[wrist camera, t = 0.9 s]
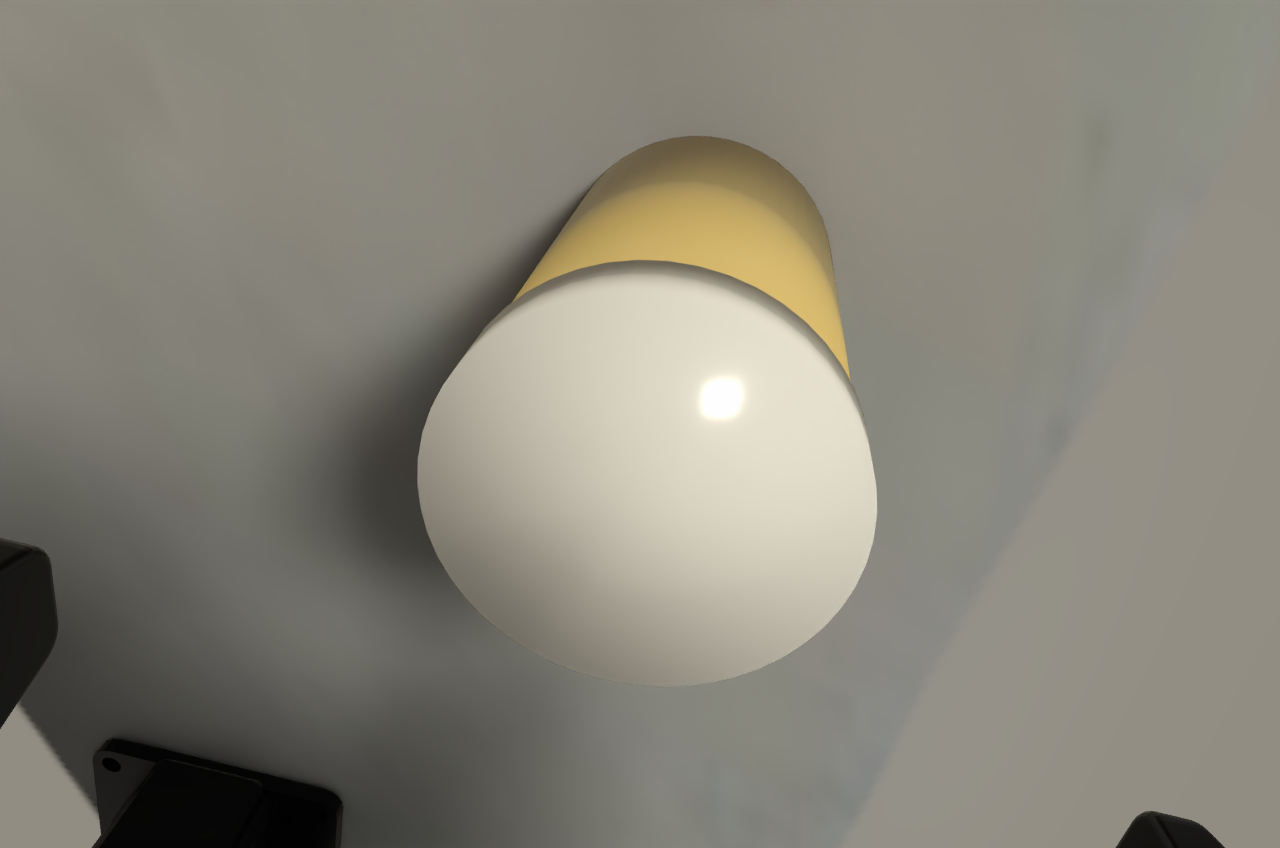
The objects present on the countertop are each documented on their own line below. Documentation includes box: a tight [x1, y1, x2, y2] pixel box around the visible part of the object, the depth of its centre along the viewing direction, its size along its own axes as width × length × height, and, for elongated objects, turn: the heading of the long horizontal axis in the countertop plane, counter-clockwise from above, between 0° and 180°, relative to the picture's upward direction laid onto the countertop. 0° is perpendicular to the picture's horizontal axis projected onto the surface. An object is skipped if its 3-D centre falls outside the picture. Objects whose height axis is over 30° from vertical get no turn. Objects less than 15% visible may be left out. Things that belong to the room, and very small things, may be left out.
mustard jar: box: [417, 136, 877, 687], centre depth 14 cm, size 5×5×8 cm
